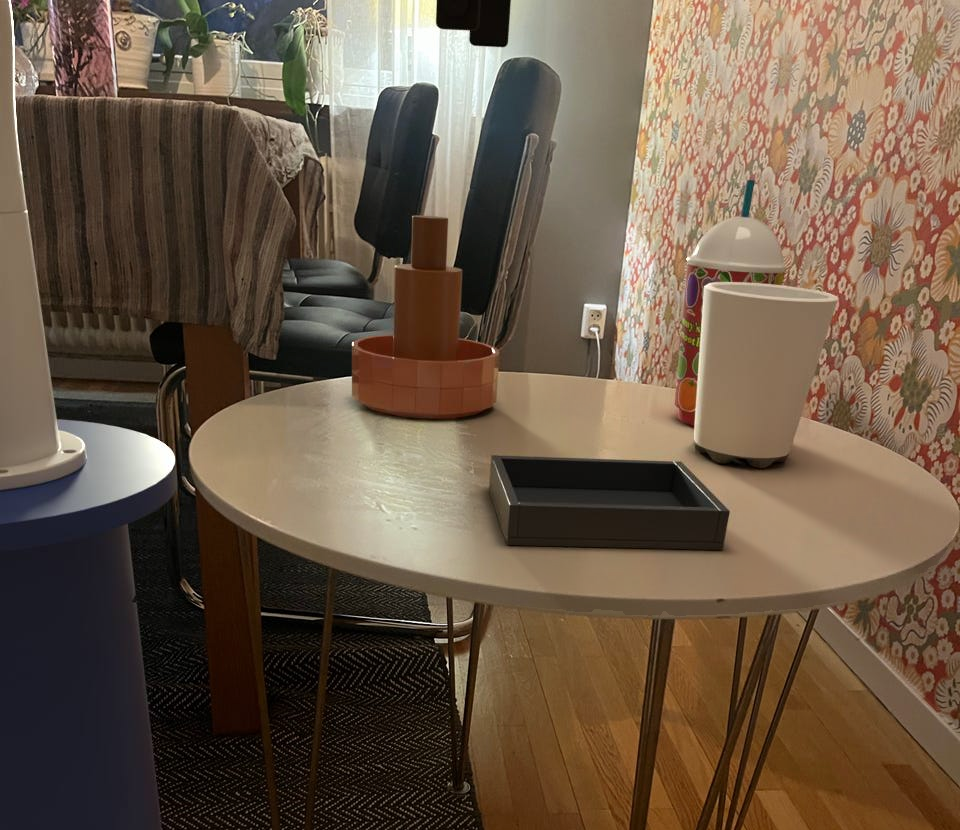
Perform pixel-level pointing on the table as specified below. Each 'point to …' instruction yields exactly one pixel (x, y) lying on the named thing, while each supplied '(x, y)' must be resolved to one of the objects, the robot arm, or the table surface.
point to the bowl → (424, 380)
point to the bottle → (427, 296)
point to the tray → (604, 504)
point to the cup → (756, 368)
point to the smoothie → (722, 258)
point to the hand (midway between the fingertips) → (473, 38)
